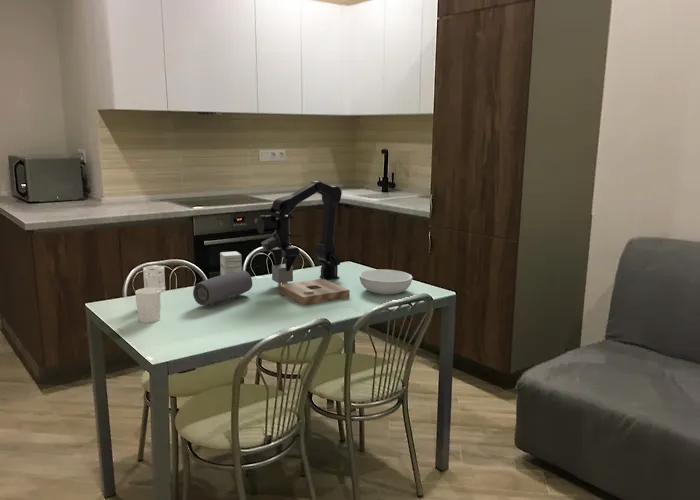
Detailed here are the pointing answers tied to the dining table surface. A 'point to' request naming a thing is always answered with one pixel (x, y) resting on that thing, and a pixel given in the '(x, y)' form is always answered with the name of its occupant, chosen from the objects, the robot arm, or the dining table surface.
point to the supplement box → (230, 262)
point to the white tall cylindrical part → (154, 277)
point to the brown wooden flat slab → (314, 291)
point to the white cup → (148, 304)
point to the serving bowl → (385, 281)
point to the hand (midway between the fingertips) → (282, 268)
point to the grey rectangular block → (282, 274)
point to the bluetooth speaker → (222, 288)
